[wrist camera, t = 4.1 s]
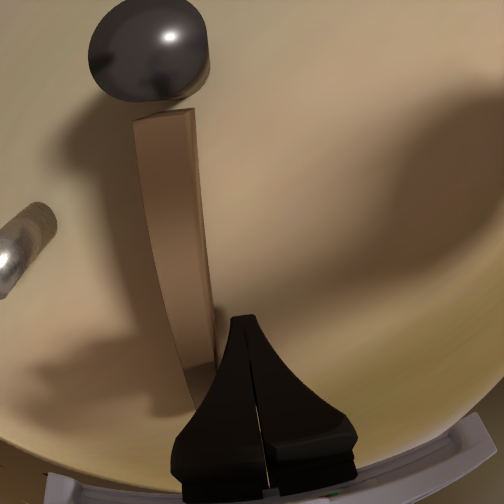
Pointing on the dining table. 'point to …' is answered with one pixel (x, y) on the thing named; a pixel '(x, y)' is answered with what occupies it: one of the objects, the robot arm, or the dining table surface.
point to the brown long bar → (179, 239)
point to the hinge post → (150, 51)
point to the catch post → (24, 242)
